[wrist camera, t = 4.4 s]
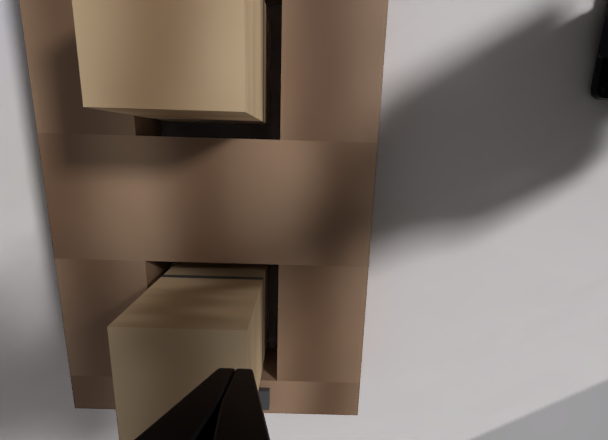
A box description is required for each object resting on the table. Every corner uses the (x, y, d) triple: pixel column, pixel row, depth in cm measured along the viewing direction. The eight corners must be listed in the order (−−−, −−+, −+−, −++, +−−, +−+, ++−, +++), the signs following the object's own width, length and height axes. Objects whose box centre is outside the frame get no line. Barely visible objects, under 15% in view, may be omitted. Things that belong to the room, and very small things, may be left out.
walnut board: (378, -40, 17) (441, -194, 9) (350, 379, 22) (375, 506, 14) (57, -50, 17) (-153, -216, 9) (105, 373, 22) (-3, 497, 14)
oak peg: (269, 259, 20) (247, 330, 13) (268, 337, 22) (248, 446, 14) (182, 256, 20) (106, 326, 13) (185, 335, 22) (119, 443, 14)
